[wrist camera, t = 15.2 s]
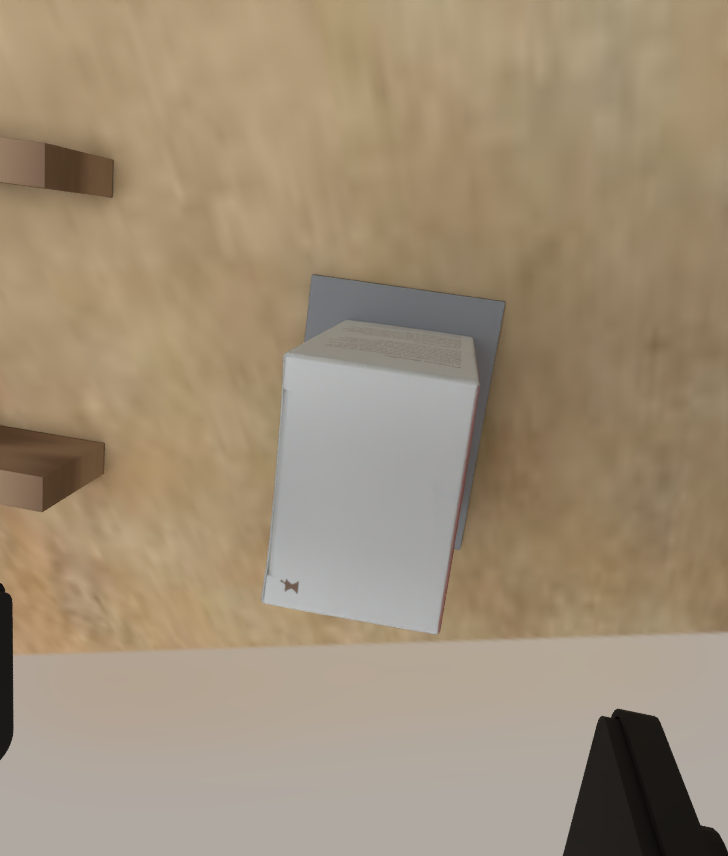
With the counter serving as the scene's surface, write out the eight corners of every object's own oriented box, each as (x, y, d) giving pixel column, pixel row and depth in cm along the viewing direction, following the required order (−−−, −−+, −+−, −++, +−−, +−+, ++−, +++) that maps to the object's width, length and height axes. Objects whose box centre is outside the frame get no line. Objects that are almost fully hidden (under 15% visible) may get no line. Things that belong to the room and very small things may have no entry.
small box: (447, 514, 31) (440, 645, 21) (323, 493, 31) (257, 611, 21) (477, 333, 29) (486, 381, 18) (343, 315, 29) (280, 351, 19)
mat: (504, 301, 28) (505, 302, 28) (460, 546, 31) (460, 550, 31) (313, 274, 29) (311, 275, 29) (287, 515, 32) (285, 519, 32)
